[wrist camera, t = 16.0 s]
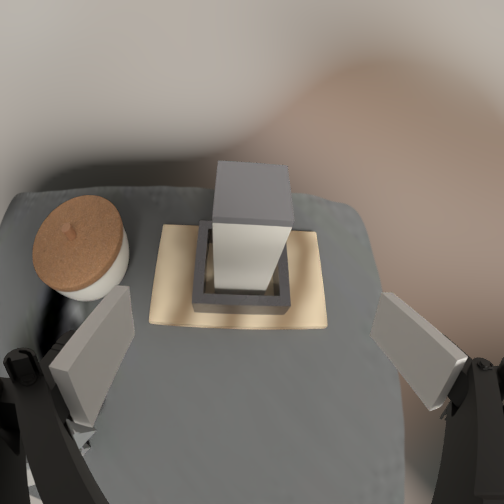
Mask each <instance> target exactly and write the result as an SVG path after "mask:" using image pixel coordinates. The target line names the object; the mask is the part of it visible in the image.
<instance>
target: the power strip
mask: <svg viewBox="0 0 504 504" xmlns="http://www.w3.org/2000/svg"><path fill="white" fill-rule="evenodd" d="M287 167H288V166H285V165H274V164H263V163H250V162H234V161H218V167H217V175H216V185H215V194H214V205H213V216H212V221H213V259H214V286H215V294H229V295H260V296H264V294H265V292H266V289H267V287H268V285H269V282H270V280H271V277H272V275H273V273H274V270H275V268H276V265H277V263H278V261H279V258H280V256H281V253H282V251H283V248H284V246H285V243H286V241H287V239H288V236H289V234H290V231H291V229H292V226H293V224H294V213H293V204H292V196H291V189H290V181H289V174H288V168H287Z"/></svg>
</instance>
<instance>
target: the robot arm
mask: <svg viewBox="0 0 504 504" xmlns="http://www.w3.org/2000/svg"><path fill="white" fill-rule="evenodd" d="M134 335H135V329H134V322H133V315H132V307H131V298H130V289H129V286H119V285H115V286H114V287H113V288H112V290H111V291H110V292H109V293H108V294H107V295H106V296H105V297H104V299H103V300H102V301H101V302H100V303H99V304H98V306H97V307H96V308H95V309H94V310H93V311H92V313H91V314H90V315H89V316H88V317H87V319H86V320H85V321H84V322H83V323H82V325H81V326H80V327H79V328H78V329H77V331H74V330H70V331H68V332H66V333H65V334H63V335H62V336H61V337H60V338H59V339H58V340H57V342H56V344H54V345H53V346H52V348H51V350H49V351H48V352H47V354H46V355H45V356H44V357H43V359H42V360H41V361H40V362H38V359H37V357H36V354H35V352H34V351H33V350H31V349H29V348H18V349H15V350H12V351H11V352H9V353H8V354H7V355H6V356H5V358H4V361H3V364H4V366H5V368H6V370H7V373H8V375H9V377H10V378H3V377H0V504H30V497H29V489H28V480H27V467H26V457H27V460H28V463H29V467H30V470H31V473H32V476H33V479H34V482H35V484H36V487H37V490H38V492H39V495H40V497H41V500H42V502H43V504H109V503H108V501H107V499H106V498H105V496H104V495H103V493H102V491H101V490H100V488H99V486H98V485H97V483H96V481H95V479H94V478H93V476H92V474H91V472H90V470H89V468H88V466H87V464H86V462H85V460H84V458H83V456H82V454H81V452H80V450H79V448H78V446H77V443H76V441H75V439H74V437H73V434H72V432H71V430H70V427H69V425H68V423H67V421H66V419H67V417H68V415H69V413H70V415H71V417H72V418H73V420H74V422H75V423H77V424H80V425H84V426H87V427H91V428H93V425H94V423H95V420H96V418H97V416H98V413H99V411H100V408H101V406H102V404H103V401H104V399H105V397H106V395H107V392H108V390H109V388H110V386H111V383H112V381H113V379H114V377H115V375H116V373H117V370H118V368H119V366H120V364H121V362H122V360H123V358H124V356H125V354H126V351H127V349H128V347H129V345H130V343H131V341H132V339H133V337H134ZM370 336H371V337H372V339H373V340H374V341H375V342H376V344H377V345H378V346H379V347H380V348H381V350H382V351H383V352H384V353H385V355H386V356H387V357H388V358H389V360H390V361H391V362H392V363H393V365H394V366H395V367H396V368H397V370H398V371H399V372H400V373H401V375H402V376H403V377H404V379H405V380H406V381H407V382H408V384H409V385H410V386H411V388H412V389H413V390H414V391H415V393H416V394H417V395H418V396H419V398H420V399H421V400H422V402H423V403H424V404H425V406H426V407H427V408H428V410H429V411H431V410H433V409H436V408H438V407H441V406H442V404H443V402H444V401H445V399H446V398H447V396H448V397H449V399H450V400H451V401H450V402H449V404H448V406H447V407H446V409H445V410H444V412H443V413H442V415H441V417H440V419H442V418H443V417H444V415H446V414H447V417H446V418H445V420H446V429H445V438H444V445H443V452H442V459H441V464H440V470H439V474H438V480H437V484H436V488H435V492H434V496H433V500H432V503H431V504H504V405H503V403H502V401H503V400H504V358H503V359H502V361H501V363H500V365H499V366H493V364H492V363H491V362H490V361H488V360H486V359H484V358H474V359H473V360H472V359H471V358H470V357H469V356H468V355H467V354H466V353H465V352H463V351H462V350H461V349H460V348H459V347H458V346H456V345H455V344H454V343H453V342H452V341H451V340H450V339H449V338H448V337H446V336H445V335H444V334H442V333H441V332H440V331H438V330H437V329H436V328H435V327H434V326H433V325H431V324H430V323H429V322H428V321H427V320H425V319H424V318H423V317H422V316H420V315H419V314H418V313H417V312H416V311H415V310H413V309H412V308H411V307H410V306H408V305H407V304H406V303H405V302H404V301H402V300H401V299H400V298H399V297H397V296H396V295H395V294H394V293H392V292H388V293H386V292H385V293H381V296H380V300H379V304H378V308H377V312H376V315H375V319H374V323H373V326H372V330H371V333H370Z"/></svg>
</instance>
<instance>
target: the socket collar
mask: <svg viewBox="0 0 504 504" xmlns="http://www.w3.org/2000/svg"><path fill="white" fill-rule="evenodd" d="M209 243H213V221H204V220H200V221H199V230H198V239H197V248H196V258H195V268H194V279H193V291H192V306H193V309H194V312H198V313H218V314H249V315H285V313H286V312H287V311H288V309H289V308H290V307H291V299H290V284H289V270H288V257H287V244H286V243H285V246H284V248H283V251H282V253H281V256H280V258H279V261H278V263H277V265H276V268H275V270H274V273H273V287H274V296H260V295H229V294H206V293H205V291H206V276H207V262H208V249H209Z"/></svg>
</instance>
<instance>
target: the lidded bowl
mask: <svg viewBox="0 0 504 504" xmlns="http://www.w3.org/2000/svg"><path fill="white" fill-rule="evenodd" d="M128 262H129V244H128V239H127V235H126V232H125V229H124V227H123V223H122V220H121V217H120V214H119V212H118V210H117V209H116V207H115V206H114V205H113V204H112V203H111V202H110V201H108V200H107V199H105V198H102V197H100V196H94V195H85V196H79V197H75V198H73V199H70V200H68V201H66V202H64V203H63V204H61V205H60V206H58V207H57V208H56V209H55V210H53V211H52V212H51V213H50V214H49V215H48V217H47V218H46V219H45V220H44V222H43V223H42V225H41V227H40V228H39V230H38V232H37V235H36V237H35V241H34V245H33V264H34V268H35V271H36V273H37V275H38V276H39V277H40V279H41V280H42V281H43V282H44V283H46V284H47V285H48V286H49V287H51V288H53V289H55V290H56V291H57V292H59V293H60V294H62V295H64V296H66V297H68V298H70V299H74V300H78V301H94V300H98V299H101V298H103V297H105V296H106V295H107V294H108V293H109V292H110V291H111V290H112V288H113V287H114V286H115V285H119V284H120V282H121V281H122V279H123V277H124V275H125V273H126V270H127V267H128Z"/></svg>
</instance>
